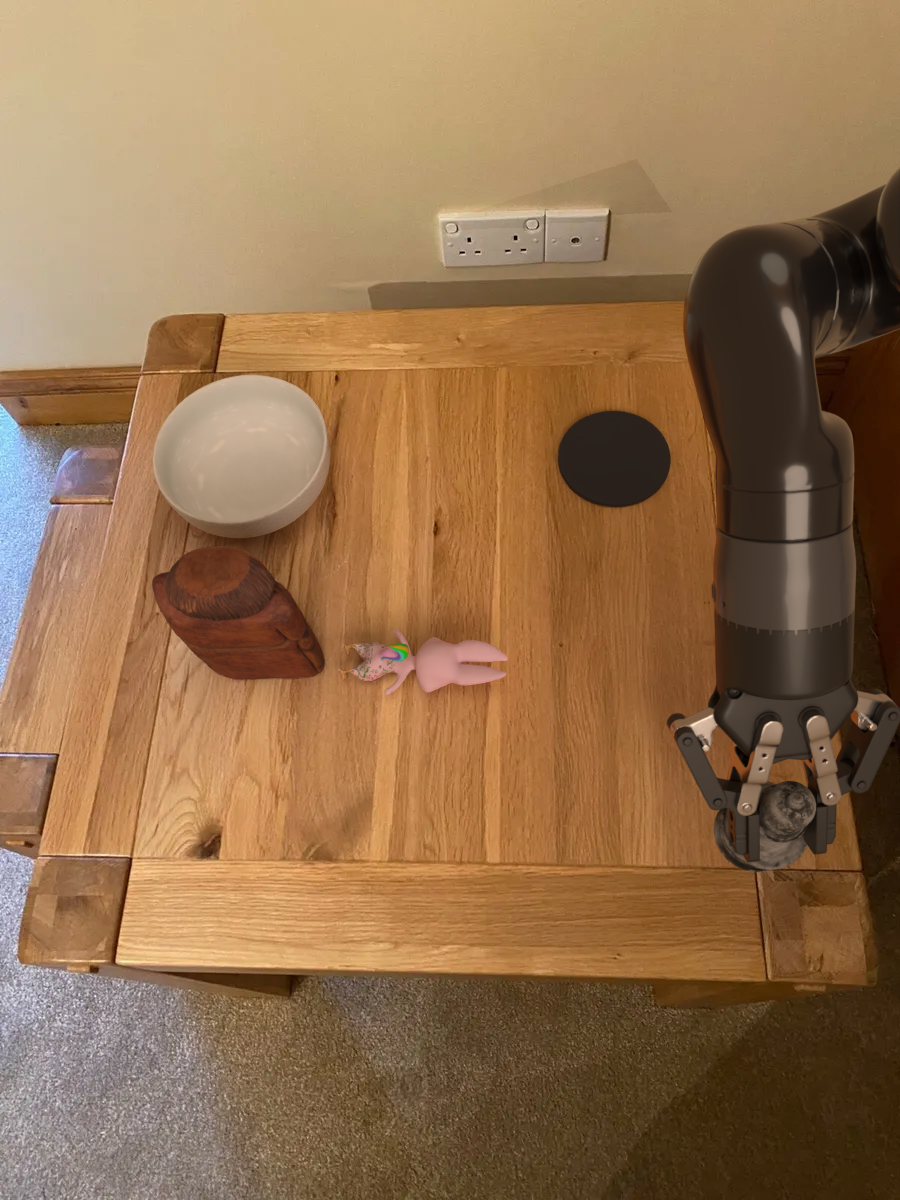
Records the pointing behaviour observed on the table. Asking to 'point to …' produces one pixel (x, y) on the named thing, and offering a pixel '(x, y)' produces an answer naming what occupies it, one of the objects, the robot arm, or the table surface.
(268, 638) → the wooden figurine
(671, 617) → the table surface
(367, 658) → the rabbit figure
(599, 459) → the coaster
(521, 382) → the table surface
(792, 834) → the salt shaker
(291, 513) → the cereal bowl
